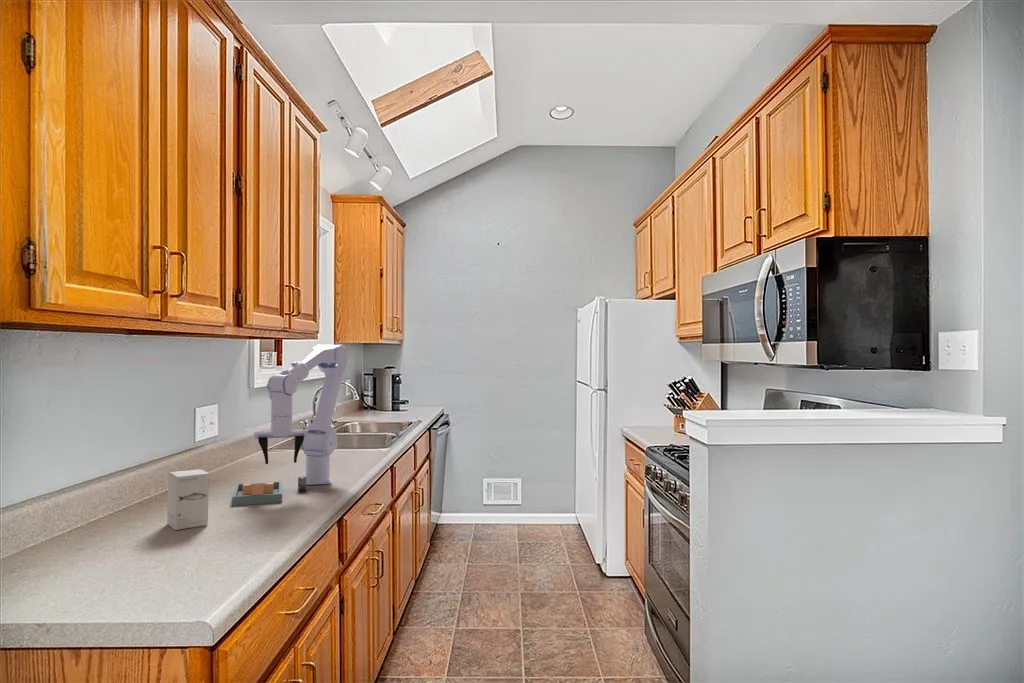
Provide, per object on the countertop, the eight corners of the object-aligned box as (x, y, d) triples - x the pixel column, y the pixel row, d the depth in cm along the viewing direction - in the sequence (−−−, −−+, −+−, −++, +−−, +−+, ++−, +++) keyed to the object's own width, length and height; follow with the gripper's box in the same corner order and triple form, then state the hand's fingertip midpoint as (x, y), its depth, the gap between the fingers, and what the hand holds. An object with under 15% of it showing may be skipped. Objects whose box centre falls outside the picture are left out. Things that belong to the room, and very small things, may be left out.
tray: (236, 491, 187) (236, 483, 187) (281, 489, 191) (281, 481, 191) (232, 505, 171) (232, 496, 171) (281, 502, 176) (282, 493, 176)
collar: (243, 492, 183) (244, 482, 184) (273, 491, 186) (273, 480, 187) (241, 495, 172) (241, 484, 173) (273, 493, 175) (273, 482, 176)
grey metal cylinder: (297, 490, 190) (297, 476, 190) (306, 489, 191) (306, 476, 191) (297, 492, 188) (298, 478, 188) (306, 491, 188) (306, 478, 188)
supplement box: (174, 531, 147) (175, 476, 147) (166, 524, 153) (167, 471, 153) (208, 525, 152) (209, 472, 152) (199, 519, 158) (200, 468, 158)
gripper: (254, 418, 178) (253, 466, 178) (308, 416, 183) (307, 464, 183) (255, 415, 184) (254, 462, 185) (307, 413, 189) (306, 459, 189)
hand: (281, 462), depth 184 cm, fingers open, 7 cm apart
